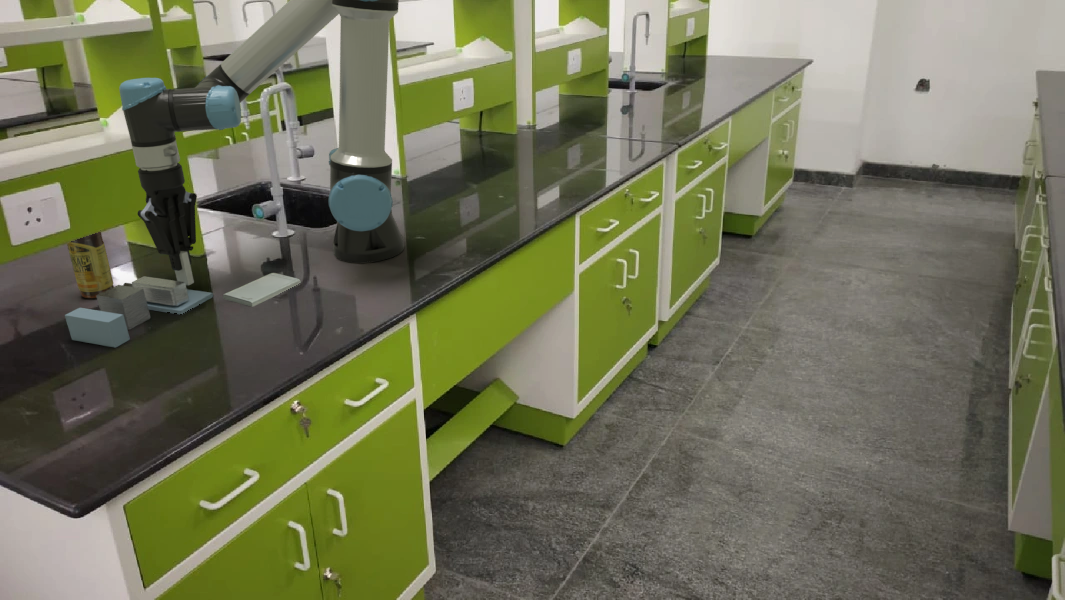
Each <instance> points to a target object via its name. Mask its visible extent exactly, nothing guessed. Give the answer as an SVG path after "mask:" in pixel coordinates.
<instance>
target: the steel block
mask: <svg viewBox="0 0 1065 600" xmlns="http://www.w3.org/2000/svg"><path fill="white" fill-rule="evenodd" d="M96 297H97V298H96V299H97V303H98V307H99V311H104V312H110V313H116V314H123V315H124V319H125V323H126V326H127V330H129V331H130V330H132V329H134V328H136V327H137V326H139V325H141V324H143V323H144V322H146V321H148V320H150V319H152V318H151V314H150V310H149V309H148V305H147V301H146V297H145V293H144V289H142V288H136V287H129V286H123V285H122V284H117V285H115V286H114V287H113V288H111V289H109V290H107V291H104V292H102V293H100V294H98V295H96Z"/></svg>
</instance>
